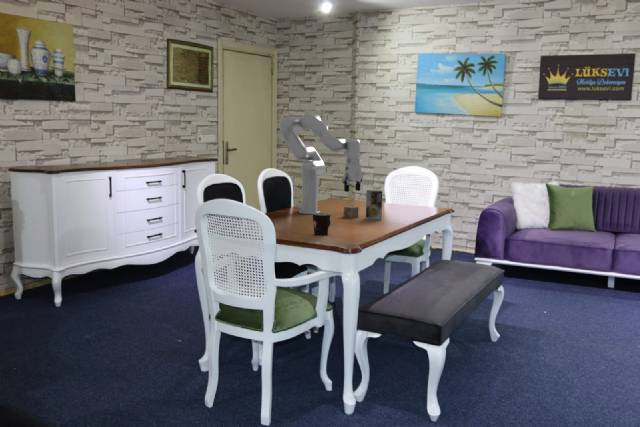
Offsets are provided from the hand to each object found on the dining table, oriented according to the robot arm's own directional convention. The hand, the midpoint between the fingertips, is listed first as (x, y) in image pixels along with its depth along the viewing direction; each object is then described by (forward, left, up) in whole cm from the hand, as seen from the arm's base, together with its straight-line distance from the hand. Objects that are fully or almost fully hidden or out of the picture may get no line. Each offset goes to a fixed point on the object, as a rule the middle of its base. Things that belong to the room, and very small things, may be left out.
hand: (352, 191), depth 342 cm
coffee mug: (+30, -55, -15) cm, 64 cm away
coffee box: (+12, +6, -15) cm, 20 cm away
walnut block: (0, 0, -15) cm, 15 cm away
